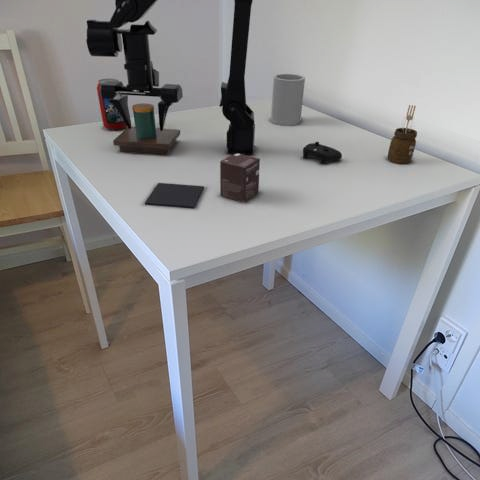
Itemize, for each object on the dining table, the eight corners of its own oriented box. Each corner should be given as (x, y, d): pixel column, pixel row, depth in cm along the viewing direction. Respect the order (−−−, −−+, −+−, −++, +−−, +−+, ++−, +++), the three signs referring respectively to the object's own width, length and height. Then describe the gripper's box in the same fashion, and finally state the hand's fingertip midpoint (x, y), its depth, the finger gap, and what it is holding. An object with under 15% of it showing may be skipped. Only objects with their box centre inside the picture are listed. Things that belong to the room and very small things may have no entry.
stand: (180, 141, 114) (180, 129, 112) (169, 156, 105) (168, 144, 103) (130, 137, 115) (128, 126, 114) (114, 152, 106) (112, 140, 104)
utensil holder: (386, 162, 106) (398, 110, 98) (387, 154, 110) (399, 103, 102) (410, 165, 104) (425, 113, 97) (411, 157, 109) (425, 106, 101)
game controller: (344, 155, 106) (338, 142, 101) (333, 174, 106) (326, 162, 101) (312, 146, 111) (305, 132, 105) (302, 164, 111) (294, 151, 106)
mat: (203, 188, 91) (203, 186, 91) (194, 208, 84) (193, 206, 83) (158, 184, 92) (158, 182, 92) (144, 204, 85) (144, 202, 84)
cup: (268, 117, 134) (271, 73, 126) (296, 116, 135) (301, 73, 127) (273, 125, 127) (276, 80, 119) (303, 125, 128) (308, 80, 120)
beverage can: (114, 132, 119) (106, 84, 111) (98, 127, 122) (90, 80, 114) (132, 127, 123) (126, 80, 115) (117, 122, 126) (110, 76, 118)
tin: (159, 133, 109) (156, 104, 105) (153, 140, 105) (150, 109, 101) (139, 132, 110) (136, 102, 105) (133, 138, 106) (129, 108, 101)
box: (244, 203, 86) (245, 167, 81) (219, 196, 88) (219, 160, 84) (259, 193, 90) (261, 158, 85) (235, 186, 92) (235, 152, 88)
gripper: (185, 53, 102) (189, 122, 112) (110, 50, 103) (120, 118, 114) (174, 61, 93) (179, 135, 104) (92, 57, 95) (105, 131, 105)
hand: (145, 129), depth 107 cm, fingers open, 8 cm apart
